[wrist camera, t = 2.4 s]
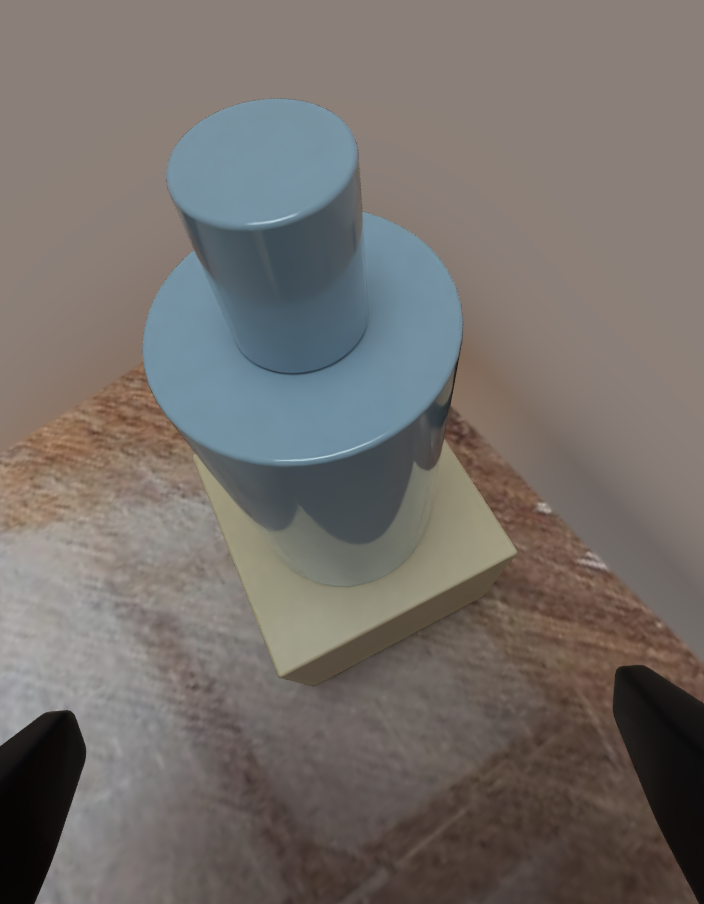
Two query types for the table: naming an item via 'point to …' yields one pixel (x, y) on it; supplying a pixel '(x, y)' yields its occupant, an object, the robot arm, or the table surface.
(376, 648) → the riser
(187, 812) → the table surface
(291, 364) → the bottle
